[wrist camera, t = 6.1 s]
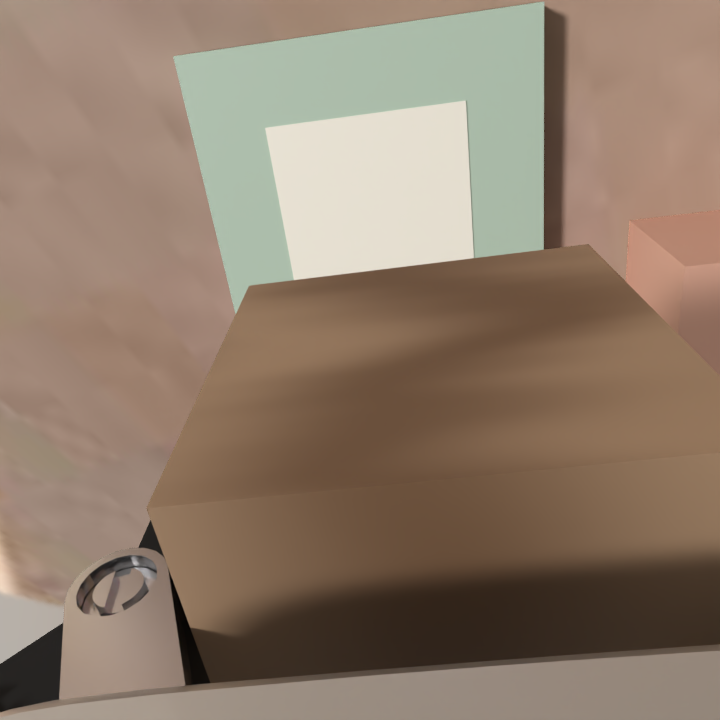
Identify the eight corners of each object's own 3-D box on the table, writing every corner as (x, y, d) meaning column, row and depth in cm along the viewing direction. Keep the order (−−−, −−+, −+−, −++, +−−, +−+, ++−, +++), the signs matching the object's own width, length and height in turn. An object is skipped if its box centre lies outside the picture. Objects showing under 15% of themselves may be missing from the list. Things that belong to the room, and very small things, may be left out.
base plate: (537, 2, 24) (544, 1, 23) (537, 332, 31) (543, 343, 30) (181, 54, 26) (172, 56, 25) (254, 361, 32) (249, 373, 31)
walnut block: (588, 244, 11) (789, 445, 6) (579, 511, 14) (710, 814, 9) (249, 285, 12) (146, 508, 6) (306, 537, 14) (268, 840, 9)
